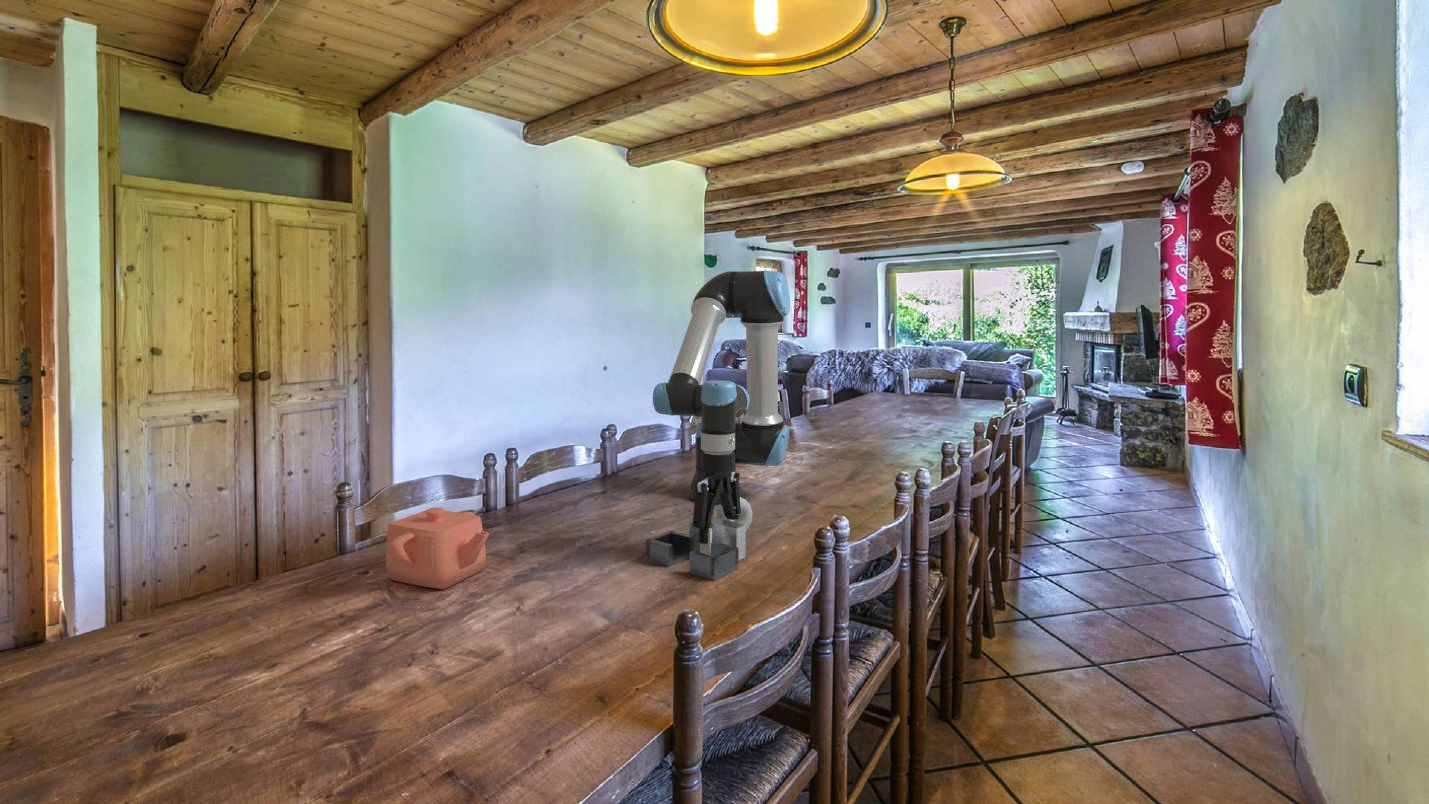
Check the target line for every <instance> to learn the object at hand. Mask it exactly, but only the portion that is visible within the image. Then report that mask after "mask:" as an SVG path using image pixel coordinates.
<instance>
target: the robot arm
mask: <svg viewBox="0 0 1429 804" xmlns="http://www.w3.org/2000/svg"><path fill="white" fill-rule="evenodd" d="M788 285H789V284H788V282H787V278H786V276H785V275H784V274H783V273H782V272H781V271H774V270H773V271H772V270H751V271H748V270H746V271H742V270H741V271H734V270H733V271H731V270H729V271H724V272H721V273H719V274H716V275H715V276H713V277H712V278H711V279H709V280H708V281H707V282H706V283H705V284H703V286H702V287H700V289H699V290H698V292H697V293H696V294H695V297H693V301H692V303H691V305H690V313H691V318H690V320H689V323H688V325H687V328H686V332H685V334H684V337H683V340H682V343H681V345H680V349H679V350H678V351H679V352H678V355H677V356H676V360H675V363H674V365H673V367H672V368H673V369H672V371H671V373H670V376H669V379H668V381H667V382H666V381H665V382H659V383H657V385H655V386H654V389H653V391H652V405H653V408H654V411H656V413H658V414H660V415H667V416H672V417H673V416H680V417H681V416H683V417H701V418H700V419H701V420H700V421H698V423H697V424H696V429H695V435H694V436H695V437H694V438H695V472H694V475H693V477H692V480H691V484H690V487H689V490H688V491H689V494H688V495H689V499H691V500H692V501H694V504H693V505H694V507H693V514H692V516H693V524H692V526H693V527H696V528H699V542H700V553H704V554H708V555H711V543H712V529H711V528H710V524H711V519H712V517H713V514H714V511H715V507H716V505H718V504H719V505H722V507H723V511H724V515H725V517H726V518H722V519H723V520H728V521H732V522H735V520H736V521H737V520H738V518H739V514H740V513H741V508H740V497H741V498H742V489H741V486H740V483H739V482H740V478H741V477H740V476H741V475H740V473H739V472H736V467H737V465H736V464H738V465H749V466H750V465H751V466H763V467H778V466H780V465H782V464H783V462H784V460H785V458H786V455H787V450H788V446H789V442H790V441H789V440H790V426H788V425H786V424H784V418H783V416H782V415H781V414H780V413H779V401H778V400H779V393H778V392H779V386H778V385H779V383H778V382H779V380H778V379H779V358H778V357H779V339H778V338H779V327H780V326H781V325H782V324H783V323H784V317H785V316H788V315H789V313H790V310H791V308H790V307H791V306H790V304H791V300H790V299H791V297H790V289H789V286H788ZM729 315H732V316H740V323H741V325H743V326H744V327H745V330H746V331H745V333H746V334H745V335H746V336H745V340H746V341H745V342H746V344H745V345H746V388H745V387H743V386H742V385H740V384H736V383H735V382H734V381H731V380H723V379H721V380H720V379H719V380H713V379H712V380H707V381H704V382H703V383H702V379H703V376H704V372H705V369H706V368H707V367H706V366H707V364H708V361H709V357H710V354H711V351H712V348H713V345H714V341H715V339H716V335H717V333H718V329H719V326H720V324H722V323H723V322H724V321H725V320H726V317H727V316H729ZM701 383H702V384H701ZM745 412H746V414H745V415H744V416H742V415H743V414H744V413H745ZM741 416H742V418H741V422H738V420H737V418H738V417H741ZM734 507H736V508H734Z"/></svg>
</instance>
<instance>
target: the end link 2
mask: <svg viewBox="0 0 1429 804" xmlns="http://www.w3.org/2000/svg"><path fill="white" fill-rule="evenodd" d="M739 561H740V560H739V548H737V547H734V546H730V545H726V544H722V543H718V542H712V543H711V555H708V554H704V553H700V552H699V551H695V550H694V551H691V552H690V558H689V574H691V575H694V576H697V577H701V578H704V579H708V580H711V581H713V582H714V581H717V580H718V579H721V578H723V577H724V576H727V575H728V574H731V573H733V572H735V571H737V570H738V569H739Z"/></svg>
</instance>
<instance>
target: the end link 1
mask: <svg viewBox="0 0 1429 804" xmlns="http://www.w3.org/2000/svg"><path fill="white" fill-rule="evenodd" d="M645 542H646V543H645V544H646V547H645V550H646V554H645V555H646V557H645V559H646V561H648V562H651V563H655V564H658V565H661V566H664V567H668V568H670V567H673V566H674V565H676V564H679V563H681V562H683V561H686V560H688V559H690V552H691V551H695V550H694V536H691V535H689V534H687V533H683V532H679V531H675V530H670V531H666V532H664V533H661V534H659V535H656V536H654V537H651V538H647V539H646V541H645Z"/></svg>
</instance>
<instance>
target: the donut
mask: <svg viewBox="0 0 1429 804" xmlns="http://www.w3.org/2000/svg"><path fill="white" fill-rule="evenodd" d="M734 508H736V507H734ZM740 508H741V513H740V514H738V515H739V518H738V520H736V521H735V522H736V523H741V524H745V525H746V532H747V531H748V529H749V528H750V526H751V524H752V521H753V510H752V507H751V504H750V502H748V501H747V499H745V498H743V497H742V496H741V497H740ZM715 518H719V519H722V518H726V517H725V515H724V511H723V507H722V504H720V506H719V508H718V510H717V512H716V517H715Z"/></svg>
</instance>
